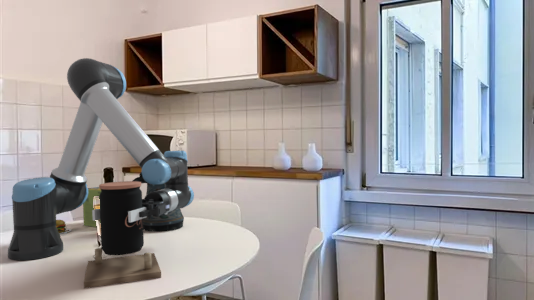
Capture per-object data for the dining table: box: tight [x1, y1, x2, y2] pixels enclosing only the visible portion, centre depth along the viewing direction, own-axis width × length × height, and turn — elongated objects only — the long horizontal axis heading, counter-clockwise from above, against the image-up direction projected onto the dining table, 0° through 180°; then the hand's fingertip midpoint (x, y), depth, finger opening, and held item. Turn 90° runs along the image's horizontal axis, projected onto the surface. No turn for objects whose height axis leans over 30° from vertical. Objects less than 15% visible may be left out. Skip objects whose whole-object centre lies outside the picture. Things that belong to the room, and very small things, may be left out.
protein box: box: [82, 186, 101, 228], centre depth 166 cm, size 10×15×16 cm
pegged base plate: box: [83, 247, 162, 289], centre depth 107 cm, size 18×18×6 cm
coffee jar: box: [98, 180, 145, 256], centre depth 106 cm, size 11×11×18 cm
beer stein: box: [132, 171, 185, 233], centre depth 158 cm, size 16×19×25 cm
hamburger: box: [56, 219, 72, 235], centre depth 154 cm, size 12×12×6 cm
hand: (111, 216), depth 102 cm, fingers closed on coffee jar, 11 cm apart
